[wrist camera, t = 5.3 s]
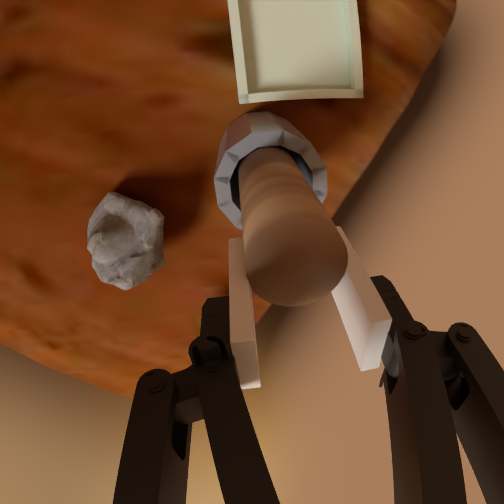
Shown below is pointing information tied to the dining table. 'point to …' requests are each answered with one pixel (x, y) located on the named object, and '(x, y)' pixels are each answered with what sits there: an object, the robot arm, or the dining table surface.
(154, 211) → the fossil
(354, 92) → the sage tray
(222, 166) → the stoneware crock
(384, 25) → the dining table surface
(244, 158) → the walnut dowel
